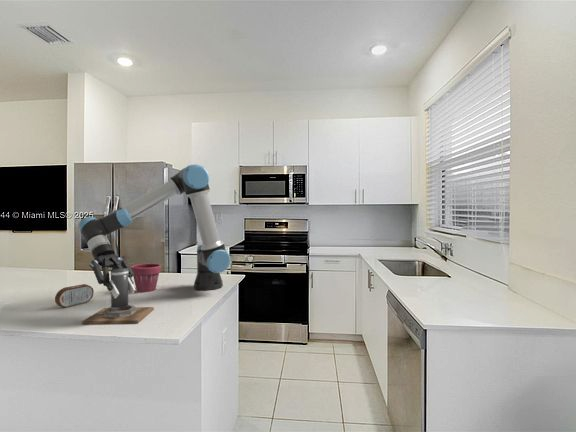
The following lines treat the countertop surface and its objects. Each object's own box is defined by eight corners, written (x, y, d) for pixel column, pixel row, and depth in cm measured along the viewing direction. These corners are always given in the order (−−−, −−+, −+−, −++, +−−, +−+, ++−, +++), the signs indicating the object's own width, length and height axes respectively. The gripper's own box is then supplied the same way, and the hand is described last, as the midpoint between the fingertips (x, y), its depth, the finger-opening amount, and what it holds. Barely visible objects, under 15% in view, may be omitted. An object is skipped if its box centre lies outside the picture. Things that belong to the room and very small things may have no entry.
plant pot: (166, 287, 174) (165, 263, 173) (152, 293, 160) (152, 268, 160) (140, 286, 175) (140, 263, 175) (125, 293, 161) (125, 267, 161)
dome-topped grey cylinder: (131, 302, 129) (131, 267, 129) (124, 307, 123) (124, 270, 123) (115, 302, 129) (115, 268, 128) (107, 307, 123) (107, 271, 122)
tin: (91, 300, 149) (90, 282, 149) (94, 301, 147) (94, 282, 147) (54, 309, 136) (54, 289, 135) (58, 310, 134) (58, 290, 134)
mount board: (153, 309, 134) (153, 302, 134) (137, 323, 118) (137, 314, 118) (104, 310, 133) (104, 302, 133) (81, 324, 117) (81, 315, 117)
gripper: (119, 252, 141) (143, 294, 133) (72, 257, 125) (96, 306, 117) (127, 240, 139) (151, 283, 130) (79, 245, 122) (104, 293, 114)
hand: (125, 294), depth 124 cm, fingers closed on dome-topped grey cylinder, 6 cm apart
